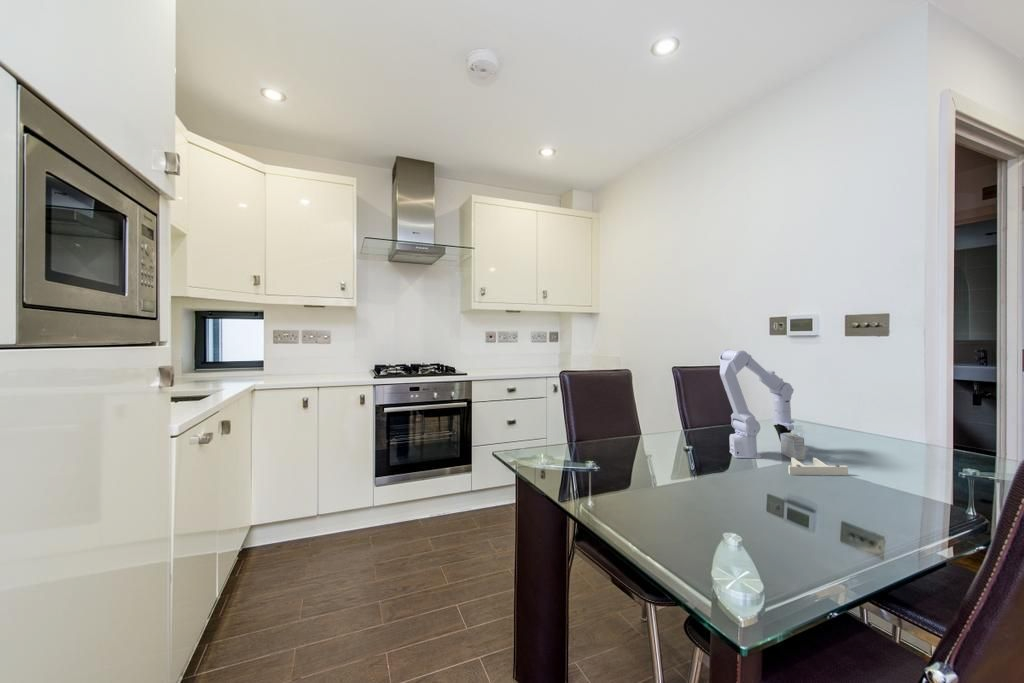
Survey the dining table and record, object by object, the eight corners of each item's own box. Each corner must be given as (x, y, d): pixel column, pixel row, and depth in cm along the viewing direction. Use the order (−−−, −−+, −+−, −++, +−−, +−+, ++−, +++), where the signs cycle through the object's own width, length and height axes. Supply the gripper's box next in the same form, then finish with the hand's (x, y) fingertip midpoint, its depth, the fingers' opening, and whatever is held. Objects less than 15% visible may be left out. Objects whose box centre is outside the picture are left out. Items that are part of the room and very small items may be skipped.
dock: (790, 474, 141) (789, 465, 141) (776, 464, 151) (776, 455, 151) (848, 475, 137) (848, 466, 137) (830, 464, 148) (830, 455, 147)
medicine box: (805, 459, 154) (804, 437, 153) (794, 460, 154) (793, 438, 153) (791, 453, 161) (790, 432, 161) (780, 453, 162) (779, 433, 161)
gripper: (801, 414, 156) (803, 447, 157) (784, 406, 171) (786, 437, 171) (782, 414, 158) (783, 447, 158) (766, 406, 172) (768, 437, 173)
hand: (783, 442), depth 165 cm, fingers closed
